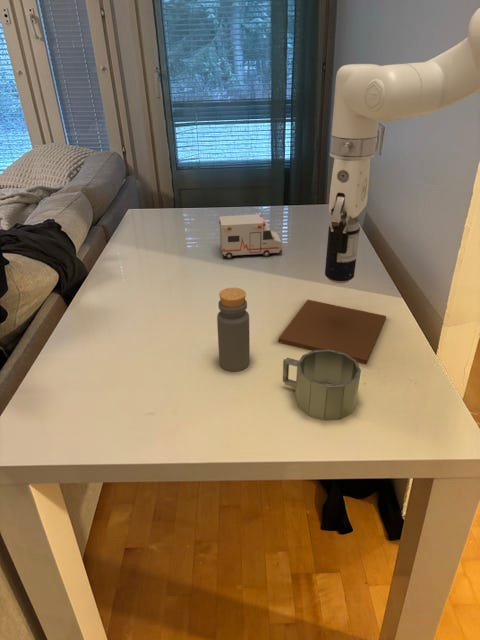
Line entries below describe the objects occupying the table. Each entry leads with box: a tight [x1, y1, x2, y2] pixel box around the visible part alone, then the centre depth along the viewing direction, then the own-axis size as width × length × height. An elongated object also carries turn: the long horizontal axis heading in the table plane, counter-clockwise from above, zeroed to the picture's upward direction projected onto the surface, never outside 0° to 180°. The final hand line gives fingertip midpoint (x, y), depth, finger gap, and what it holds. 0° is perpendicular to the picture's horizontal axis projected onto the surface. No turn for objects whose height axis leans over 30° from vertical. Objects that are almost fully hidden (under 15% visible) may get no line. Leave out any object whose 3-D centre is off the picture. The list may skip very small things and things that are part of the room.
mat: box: [278, 299, 387, 365], centre depth 98 cm, size 18×18×1 cm
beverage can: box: [324, 217, 361, 285], centre depth 89 cm, size 6×6×12 cm
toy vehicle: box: [218, 213, 283, 260], centre depth 133 cm, size 10×17×10 cm, turn 97°
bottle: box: [216, 287, 251, 372], centre depth 86 cm, size 6×6×15 cm
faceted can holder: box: [282, 349, 362, 421], centre depth 79 cm, size 13×10×7 cm
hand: (342, 245), depth 89 cm, fingers closed on beverage can, 5 cm apart
